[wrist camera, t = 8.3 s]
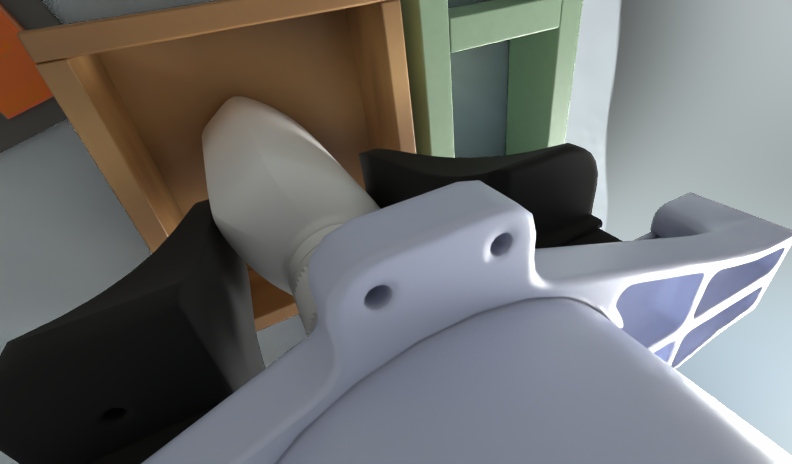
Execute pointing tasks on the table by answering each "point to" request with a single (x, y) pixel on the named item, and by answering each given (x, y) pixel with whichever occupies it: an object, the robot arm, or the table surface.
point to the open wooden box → (224, 95)
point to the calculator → (23, 75)
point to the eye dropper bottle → (276, 194)
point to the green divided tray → (528, 66)
